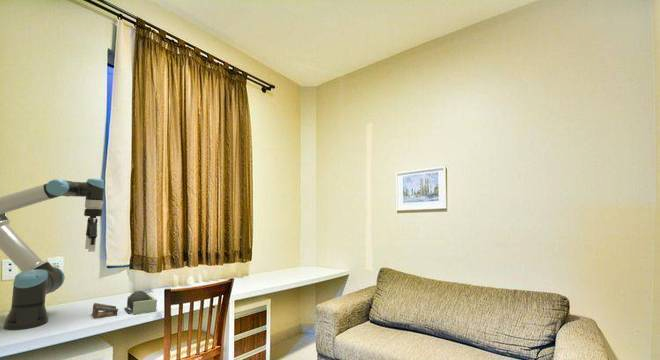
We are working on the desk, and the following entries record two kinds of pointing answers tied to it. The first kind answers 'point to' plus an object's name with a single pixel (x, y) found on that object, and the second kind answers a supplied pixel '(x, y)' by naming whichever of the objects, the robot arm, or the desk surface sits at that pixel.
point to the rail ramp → (104, 310)
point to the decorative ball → (137, 298)
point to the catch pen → (144, 305)
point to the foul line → (127, 310)
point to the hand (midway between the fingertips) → (89, 250)
